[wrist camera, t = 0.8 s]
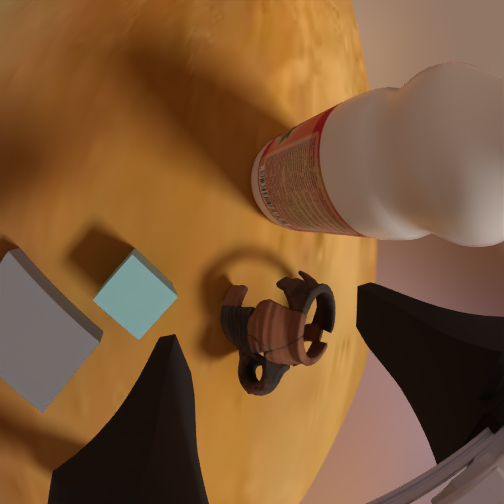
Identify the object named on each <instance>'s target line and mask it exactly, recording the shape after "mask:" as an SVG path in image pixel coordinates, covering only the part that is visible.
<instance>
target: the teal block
mask: <svg viewBox="0 0 504 504" xmlns="http://www.w3.org/2000/svg"><path fill="white" fill-rule="evenodd" d="M177 298H178V295H177V293H176V291H175V288H174V286H173V284H172V282H171V281H170V280H168V279H167V278H166V277H165V276H164V275H163V274H162V273H161V272H160V271H159V270H158V269H157V268H156V267H154V266H153V265H152V264H151V263H150V262H149V261H148V260H147V259H146V258H145V257H144V256H143V255H142V254H141V253H140V252H139V251H138V250H137V249H136V248H134V249H133V250H132V252H131V253H130V254H129V255H128V256H127V257H126V258H125V259H124V261H123V262H122V263H121V264H120V265H119V266H118V267H117V268H116V270H115V271H114V272H113V273H112V274H111V275H110V277H109V278H108V279H107V280H106V281H105V282H104V284H103V285H102V286H101V288H100V289H99V291H98V293H97V294H96V296H95V297H94V299H93V301H94V302H95V303H96V304H98V305H99V306H100V307H101V308H102V309H103V310H104V311H105V312H106V313H108V314H109V315H110V316H111V317H112V318H113V319H114V320H116V321H117V322H118V323H119V324H120V325H121V326H123V327H124V328H125V329H126V330H127V331H129V332H130V333H131V334H132V335H134V336H135V337H136V338H137V339H138V340H139V339H140V338H141V337H142V336H143V335H144V334H145V333H146V332H147V331H148V329H149V328H150V327H151V326H152V325H153V324H154V323H155V322H156V321H157V319H158V318H159V317H160V316H161V315H162V314H163V313H164V312H165V311H166V310H167V308H168V307H169V306H170V305H171V304H172V303H173V302H174V301H175V300H176V299H177Z"/></svg>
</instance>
